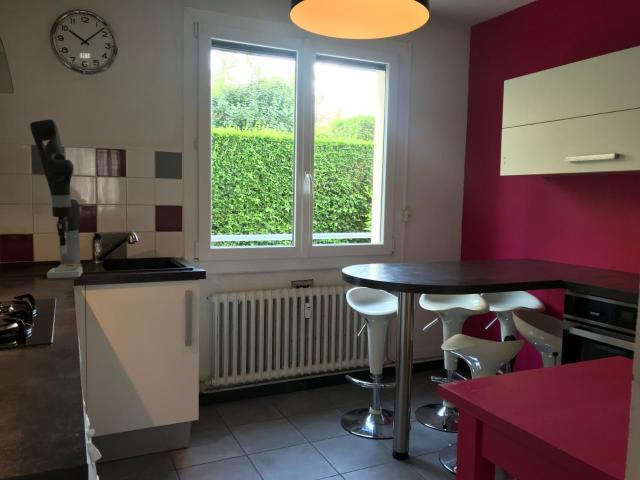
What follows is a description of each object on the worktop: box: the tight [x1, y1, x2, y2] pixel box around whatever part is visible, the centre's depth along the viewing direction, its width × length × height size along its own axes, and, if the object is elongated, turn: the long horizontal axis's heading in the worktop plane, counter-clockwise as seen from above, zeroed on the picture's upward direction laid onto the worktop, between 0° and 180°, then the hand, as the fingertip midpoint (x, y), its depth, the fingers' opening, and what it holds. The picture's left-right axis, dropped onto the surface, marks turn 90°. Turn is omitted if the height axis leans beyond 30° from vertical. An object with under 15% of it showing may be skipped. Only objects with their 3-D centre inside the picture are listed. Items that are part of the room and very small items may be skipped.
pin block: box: [56, 263, 82, 268], centre depth 244 cm, size 9×9×4 cm
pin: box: [61, 232, 67, 255], centre depth 231 cm, size 3×3×10 cm
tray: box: [46, 266, 83, 282], centre depth 232 cm, size 12×12×4 cm
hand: (63, 245), depth 231 cm, fingers closed on pin, 2 cm apart
